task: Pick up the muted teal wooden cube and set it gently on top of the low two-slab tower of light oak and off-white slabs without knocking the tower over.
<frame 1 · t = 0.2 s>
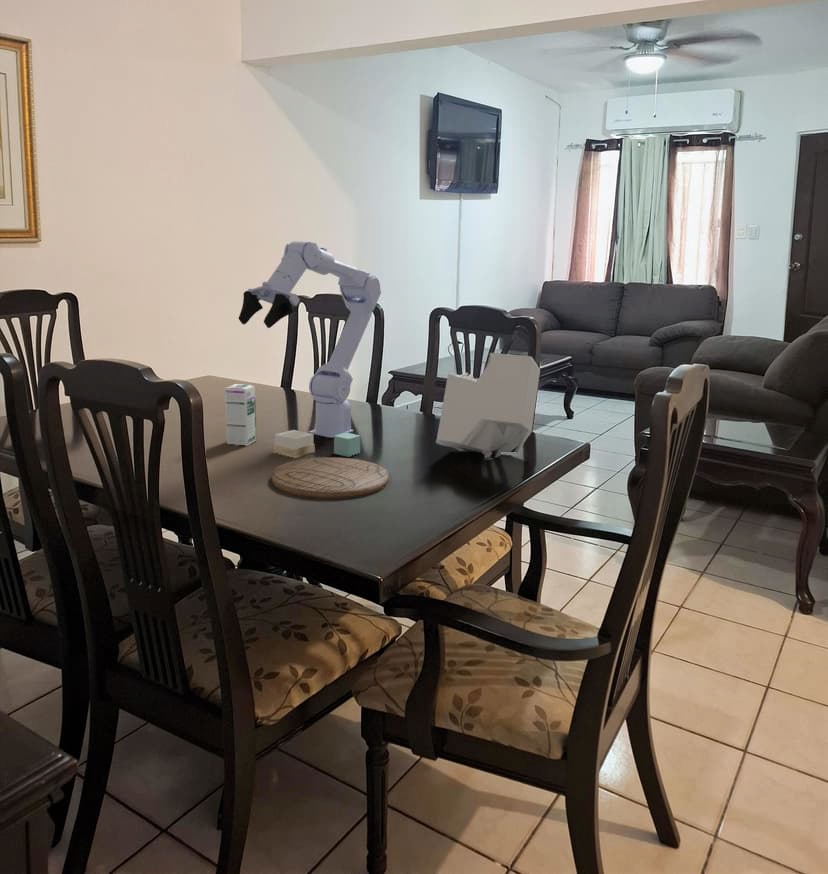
hand: (253, 323, 178), 31 cm above the table, tool tilted 45°, fingers open, 7 cm apart
trivet: (330, 482, 169), on the table
tower base: (294, 454, 189), on the table, touching tower top
grey stepped panel block: (484, 457, 192), on the table
teal cube: (347, 453, 190), on the table
tower top: (294, 444, 189), point 2 cm above the table, touching tower base
syrup box: (241, 443, 196), on the table
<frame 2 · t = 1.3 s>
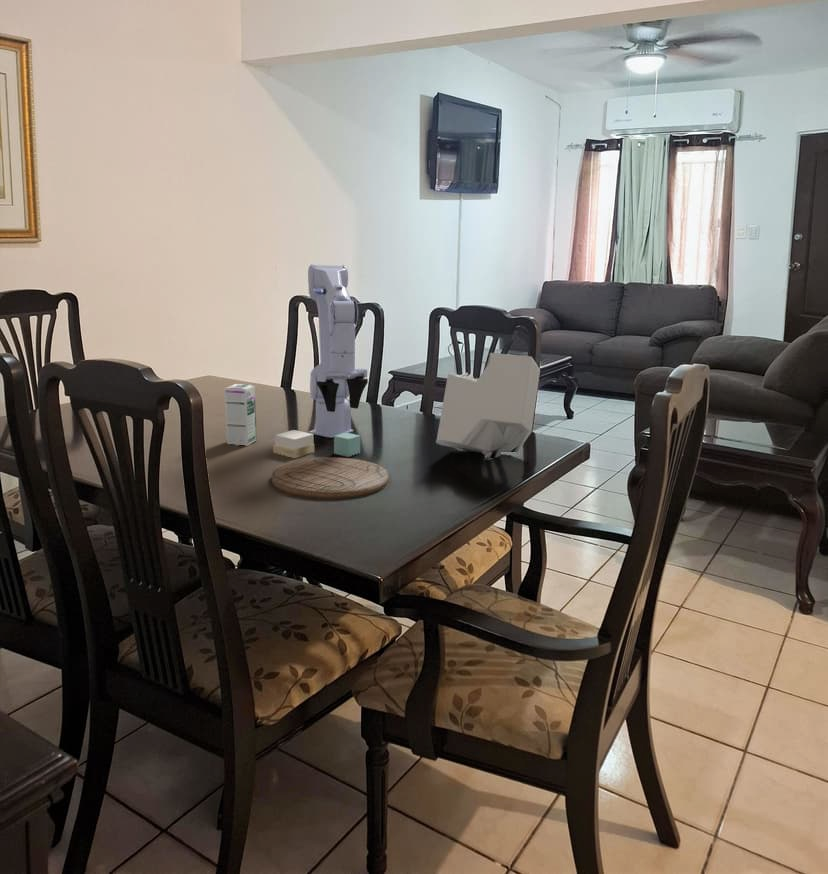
hand: (342, 409, 186), 11 cm above the table, tool pointing down, fingers open, 7 cm apart
nothing on the table moved.
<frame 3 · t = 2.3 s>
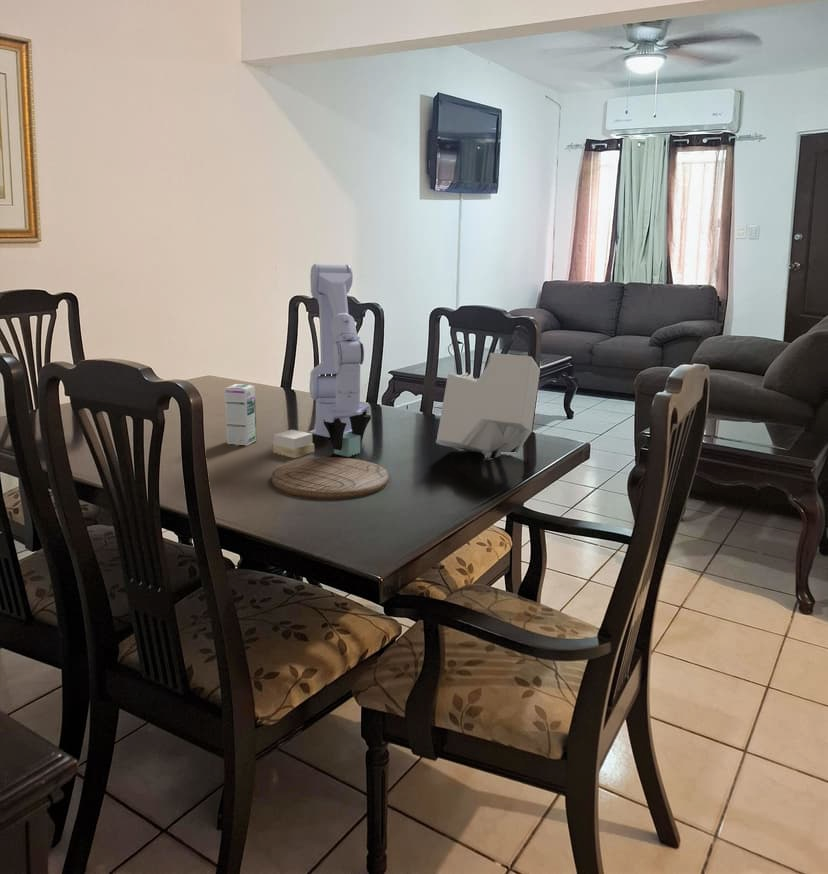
hand: (347, 446, 190), 2 cm above the table, tool pointing down, fingers open, 7 cm apart
tower base: (293, 454, 189), on the table
tower top: (293, 444, 189), point 2 cm above the table
everything else where it was.
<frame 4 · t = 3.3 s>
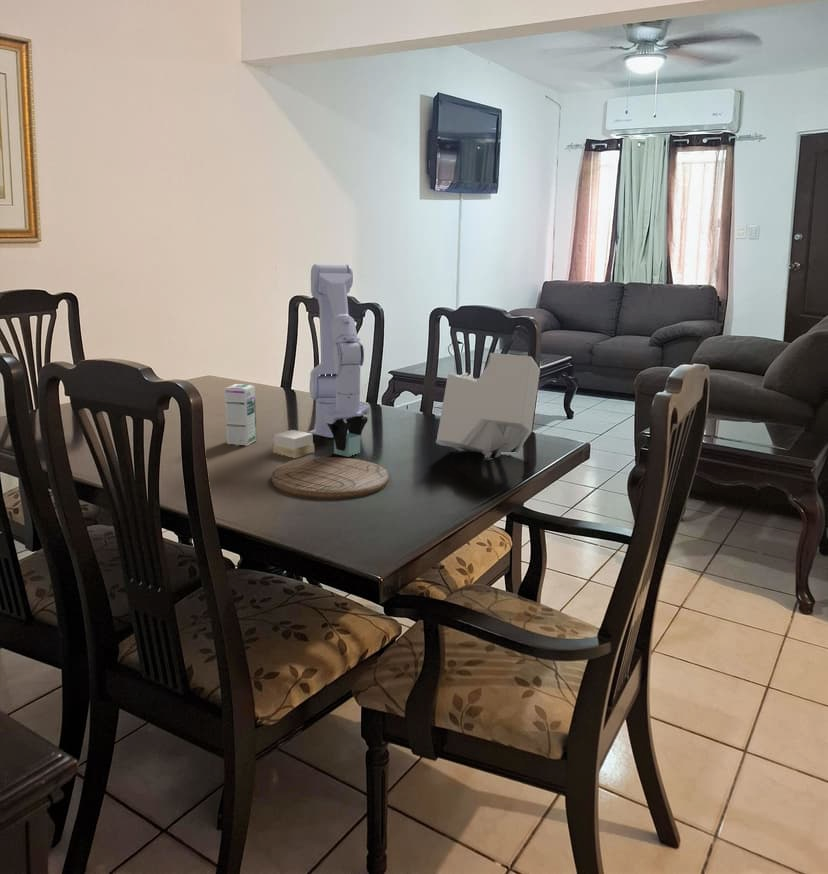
hand: (347, 447, 190), 1 cm above the table, tool pointing down, fingers closed on teal cube, 4 cm apart
teal cube: (347, 453, 190), on the table, touching gripper
everything else where it was.
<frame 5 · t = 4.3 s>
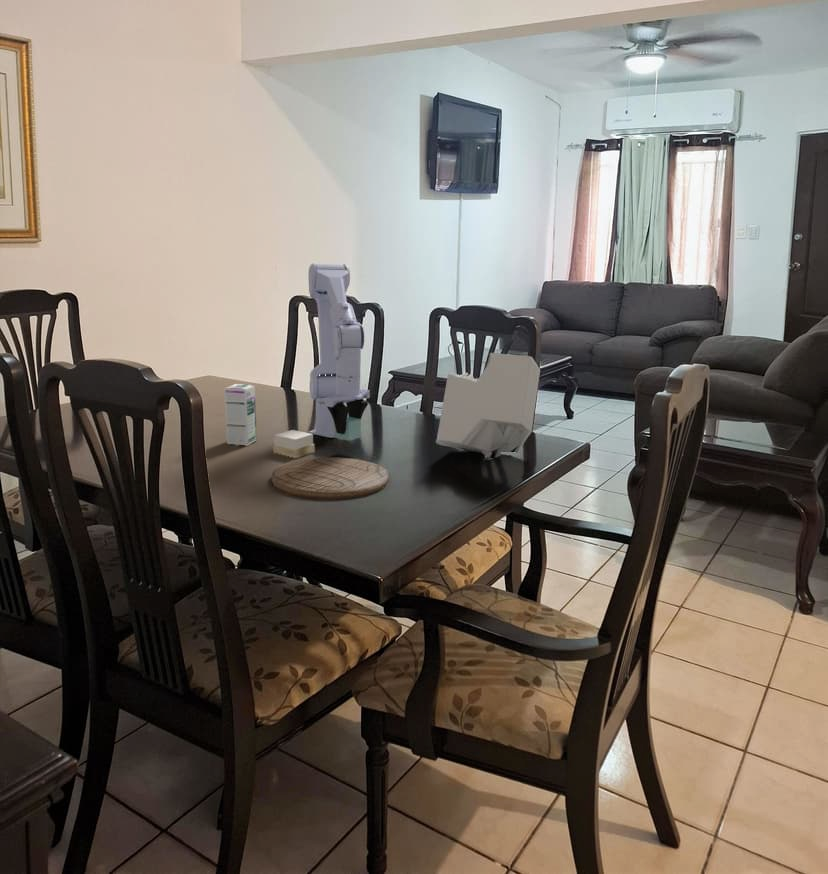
hand: (347, 431, 189), 5 cm above the table, tool pointing down, fingers closed on teal cube, 4 cm apart
tower base: (294, 454, 189), on the table, touching tower top
teal cube: (347, 437, 189), point 4 cm above the table, touching gripper
tower top: (293, 444, 189), point 2 cm above the table, touching tower base
everything else where it was.
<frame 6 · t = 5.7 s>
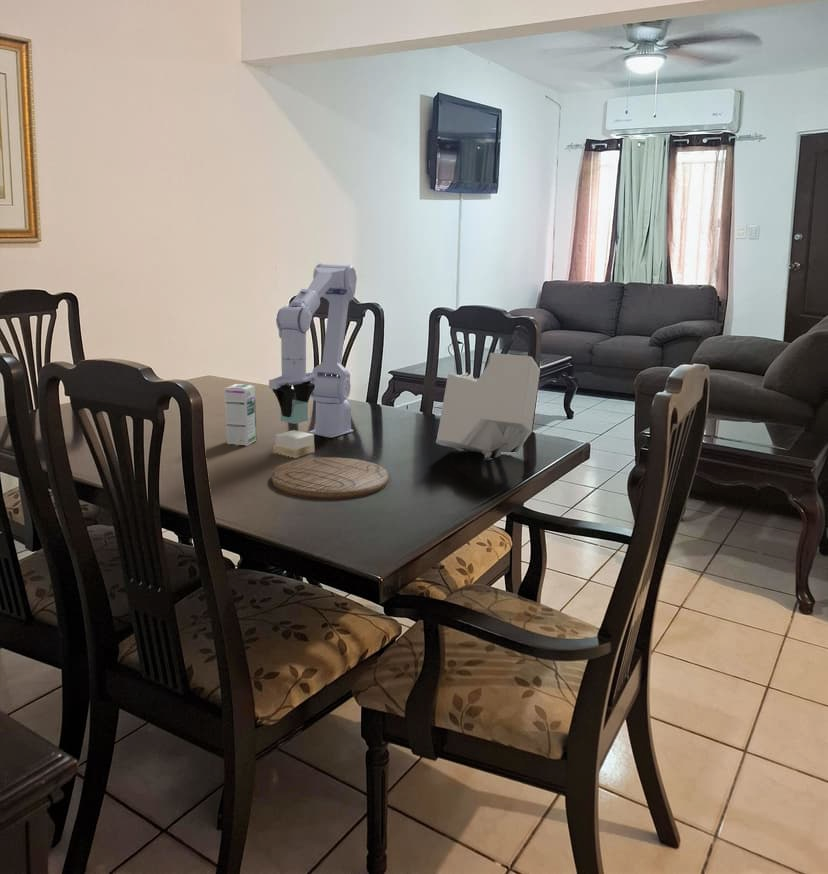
hand: (293, 414, 187), 9 cm above the table, tool pointing down, fingers closed on teal cube, 4 cm apart
teal cube: (294, 420, 187), point 8 cm above the table, touching gripper
everything else where it was.
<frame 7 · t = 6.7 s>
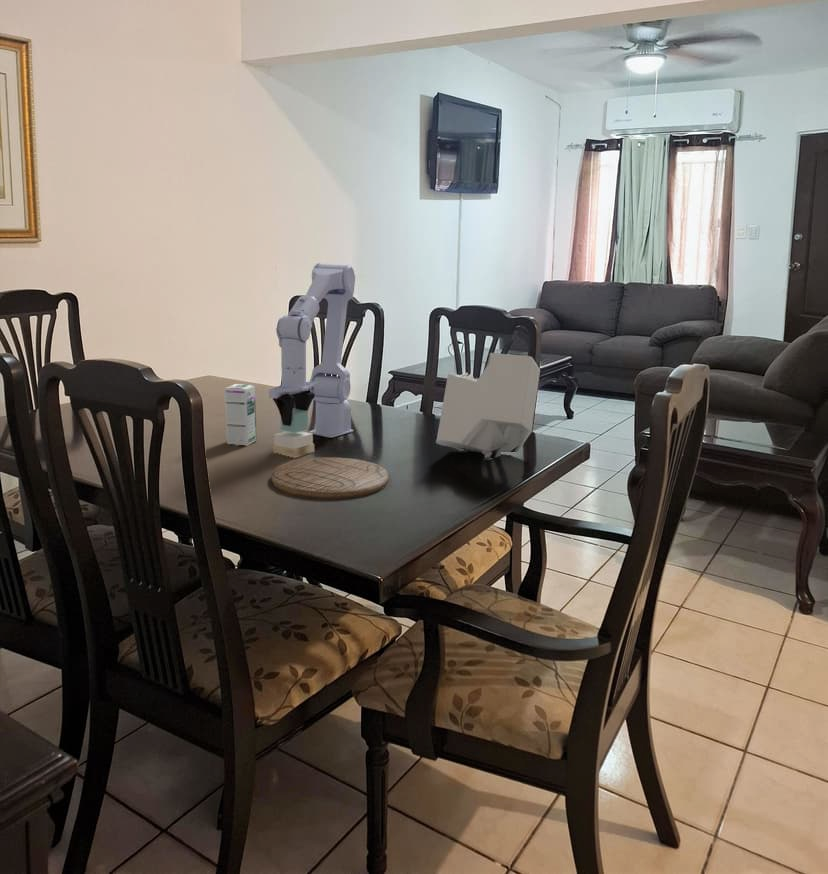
hand: (293, 423, 187), 7 cm above the table, tool pointing down, fingers closed on teal cube, 4 cm apart
teal cube: (294, 429, 188), point 6 cm above the table, touching gripper
everything else where it was.
when the fingers open (7 cm above the table, at t = 7.0 s): teal cube drops 1 cm, point 4 cm above the table.
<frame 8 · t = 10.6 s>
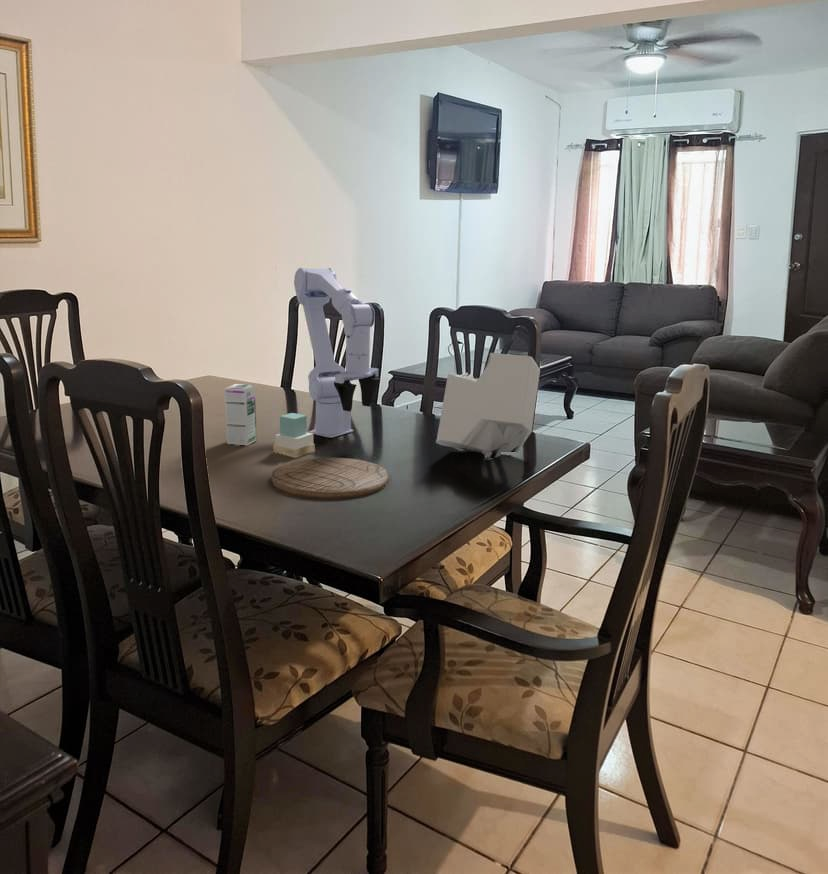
hand: (356, 408, 194), 10 cm above the table, tool pointing down, fingers open, 7 cm apart
teal cube: (293, 434, 188), point 4 cm above the table
everything else where it was.
at the end: teal cube 0.2 cm off-centre on the tower base, point 5.0 cm above the tower base's base; tower top 0.1 cm off-centre on the tower base, point 2.5 cm above the tower base's base; the gripper is holding nothing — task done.
